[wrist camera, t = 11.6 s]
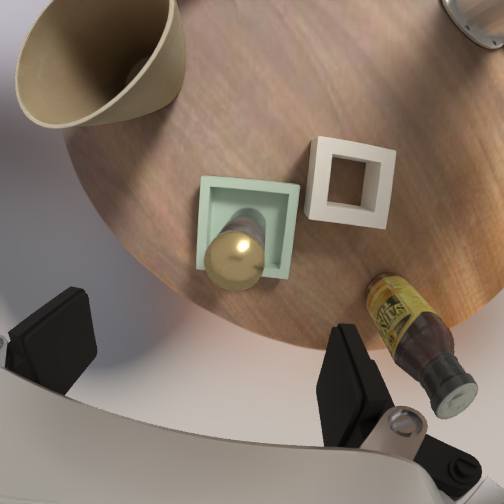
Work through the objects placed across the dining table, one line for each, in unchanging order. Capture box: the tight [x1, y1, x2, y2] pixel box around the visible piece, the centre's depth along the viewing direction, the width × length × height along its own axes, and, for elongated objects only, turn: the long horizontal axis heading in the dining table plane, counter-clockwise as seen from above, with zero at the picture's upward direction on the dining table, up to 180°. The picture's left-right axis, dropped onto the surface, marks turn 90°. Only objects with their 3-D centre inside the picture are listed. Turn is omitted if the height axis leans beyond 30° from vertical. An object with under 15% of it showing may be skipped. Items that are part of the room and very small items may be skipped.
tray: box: [196, 175, 300, 279], centre depth 32 cm, size 10×10×3 cm
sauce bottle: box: [365, 273, 478, 419], centre depth 25 cm, size 6×6×20 cm
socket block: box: [303, 136, 396, 230], centre depth 29 cm, size 8×8×5 cm
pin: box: [204, 207, 266, 291], centre depth 26 cm, size 4×4×13 cm
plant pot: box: [15, 0, 186, 129], centre depth 22 cm, size 15×15×16 cm
